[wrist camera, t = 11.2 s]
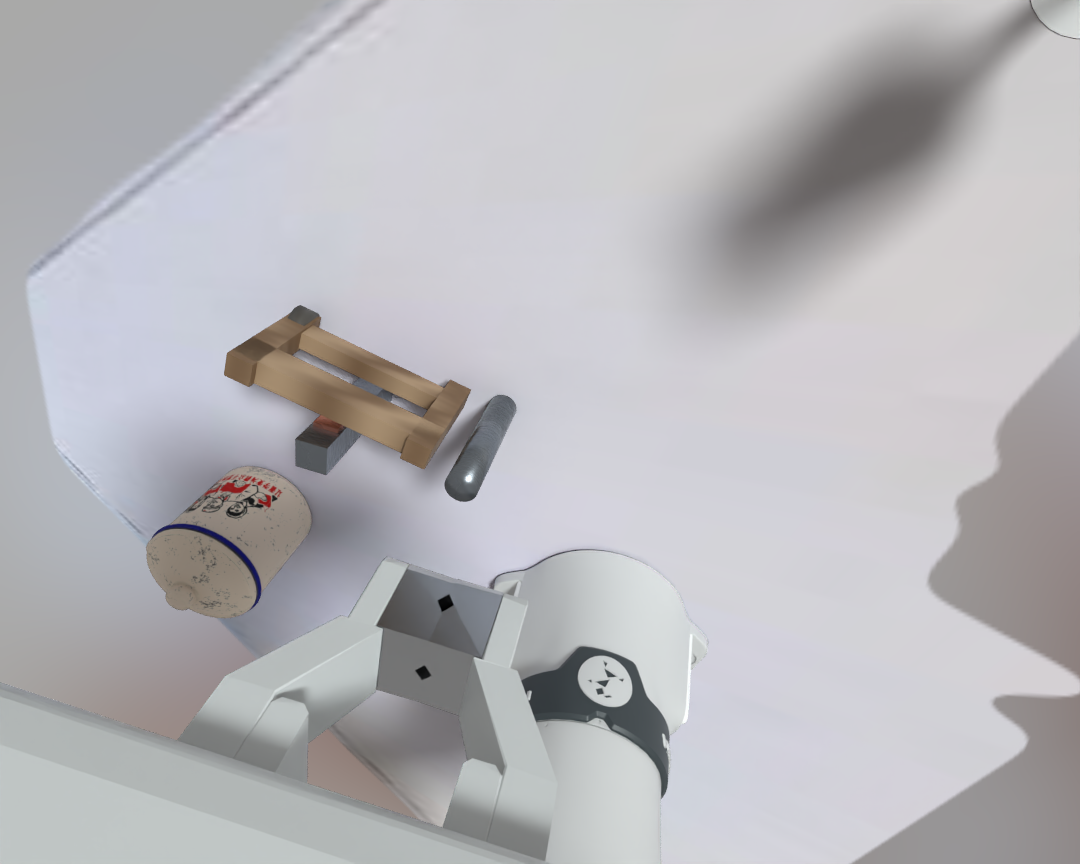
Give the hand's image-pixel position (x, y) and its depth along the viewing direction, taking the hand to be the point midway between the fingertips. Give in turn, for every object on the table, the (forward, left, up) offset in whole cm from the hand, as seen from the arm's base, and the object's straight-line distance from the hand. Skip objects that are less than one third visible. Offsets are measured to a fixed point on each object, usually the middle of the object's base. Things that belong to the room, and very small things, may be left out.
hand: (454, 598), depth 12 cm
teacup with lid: (-30, +24, -29) cm, 48 cm away
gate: (-11, +13, -29) cm, 33 cm away
